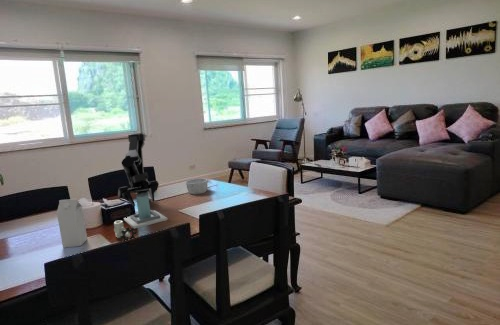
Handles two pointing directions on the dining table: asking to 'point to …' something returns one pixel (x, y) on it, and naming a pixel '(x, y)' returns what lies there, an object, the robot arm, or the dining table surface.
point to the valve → (123, 231)
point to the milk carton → (71, 223)
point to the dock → (137, 223)
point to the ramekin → (197, 186)
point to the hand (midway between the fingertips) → (144, 203)
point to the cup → (143, 205)
